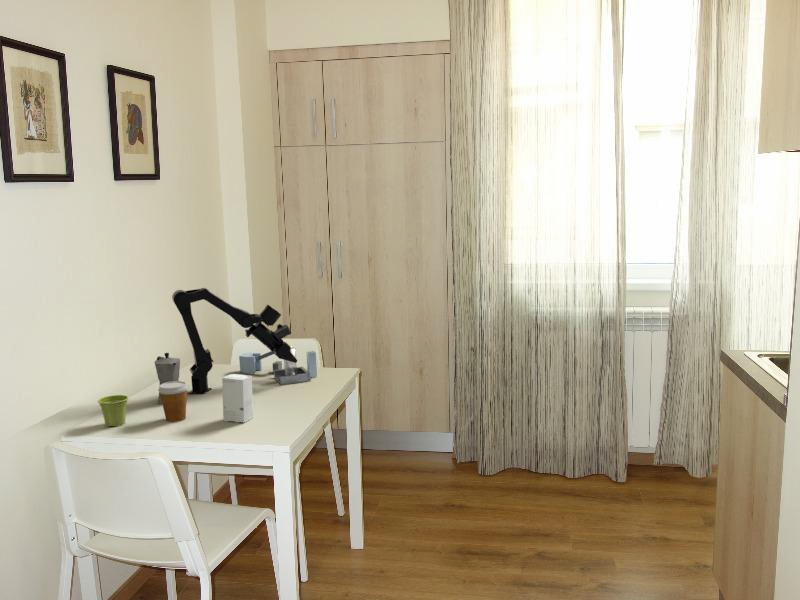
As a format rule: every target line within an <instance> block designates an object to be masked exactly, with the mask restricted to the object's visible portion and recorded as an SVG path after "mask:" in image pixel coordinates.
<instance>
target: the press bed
mask: <svg viewBox="0 0 800 600" xmlns="http://www.w3.org/2000/svg"><path fill="white" fill-rule="evenodd" d="M306 366H307V368H305V367H304V366H297V375H290V376H285V368H282V369H281V370H274V374H273V376H274V379H275V380H276V381H277V382H278V383H279V385H280V386H285V385H291V383H292V384H298V383H297V382H300V383H305V381H307V382H311V380H312V379H311V377H313V378H318V373H317V372H318V369H317V354H316V352H315V351H314V350H311V351H306ZM284 384H285V385H284Z"/></svg>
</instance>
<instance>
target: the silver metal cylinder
mask: <svg viewBox="0 0 800 600" xmlns="http://www.w3.org/2000/svg"><path fill="white" fill-rule="evenodd" d="M289 346H290V347H291V349H290V352H291V353H292V354H293V356H294V357H295V358H296V359H297V350H296V348H295V347H292V345H289ZM283 362H284V363H283V365H284V367H283V369H285V376H290V375H297V367H298V365H297V364H298V363H297V362H296V363H294V362H291V361H287V360H283Z"/></svg>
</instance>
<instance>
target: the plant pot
mask: <svg viewBox="0 0 800 600" xmlns="http://www.w3.org/2000/svg"><path fill="white" fill-rule="evenodd" d="M128 401H129V396H128V395H124V394H116V395H115V394H114V395H107V396H104V397H101V398H99V399H98V400H97V403H98V404H99V407H101V411H102V415H103V419H104V420H103V421H104V424H105V426H106V425H107V426H106V427H109V426H111V427H119V426H118V425H120V426H123V425H124V424H125V423H126V417H127V415H126V414H127V404H128ZM122 424H123V425H122Z"/></svg>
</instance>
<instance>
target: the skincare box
mask: <svg viewBox="0 0 800 600" xmlns="http://www.w3.org/2000/svg"><path fill="white" fill-rule="evenodd" d="M221 384H222V387H221V389H222V414H223V415H222V416H223V419H222V420H223V422H228V421H235V422H234V423H239V422H243V423H242V424H244V422H245V423H247V422H248V420H249V421H251V420H252V419H254V413H253V412H254V407H253V405H254V404H253V403H254V401H253V376H252V375H248V374H239V373H237V374H235V373H229V374H228V375H225V376H223V377H222V383H221ZM250 419H251V420H250ZM246 421H247V422H246Z"/></svg>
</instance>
